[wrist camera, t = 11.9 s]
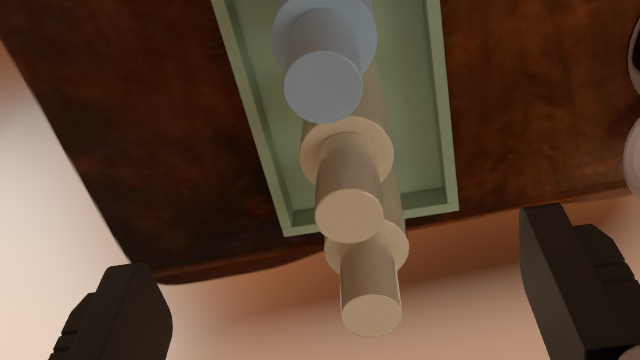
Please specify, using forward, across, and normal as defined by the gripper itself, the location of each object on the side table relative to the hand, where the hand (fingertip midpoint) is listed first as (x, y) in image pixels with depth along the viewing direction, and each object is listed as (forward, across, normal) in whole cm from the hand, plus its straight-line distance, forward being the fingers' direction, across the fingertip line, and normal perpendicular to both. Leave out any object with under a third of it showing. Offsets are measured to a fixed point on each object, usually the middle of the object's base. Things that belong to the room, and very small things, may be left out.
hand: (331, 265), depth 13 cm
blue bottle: (+22, 0, 0) cm, 22 cm away
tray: (+23, 0, +6) cm, 24 cm away
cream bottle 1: (+22, 0, +6) cm, 23 cm away
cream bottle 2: (+22, 0, +12) cm, 25 cm away
